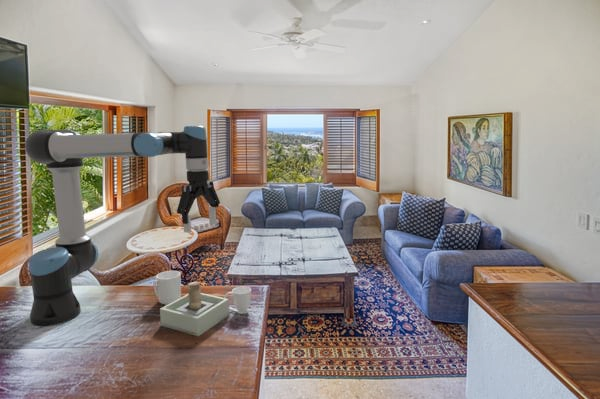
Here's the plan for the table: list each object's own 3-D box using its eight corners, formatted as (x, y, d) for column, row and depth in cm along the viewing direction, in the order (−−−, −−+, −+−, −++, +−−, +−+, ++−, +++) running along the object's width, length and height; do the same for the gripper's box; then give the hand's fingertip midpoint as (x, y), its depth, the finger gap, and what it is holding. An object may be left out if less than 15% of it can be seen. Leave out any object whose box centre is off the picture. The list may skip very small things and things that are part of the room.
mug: (172, 293, 157) (171, 269, 155) (187, 299, 152) (185, 273, 150) (148, 303, 148) (146, 277, 147) (162, 309, 143) (160, 282, 141)
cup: (250, 315, 138) (249, 294, 136) (222, 315, 139) (221, 293, 137) (254, 306, 145) (253, 286, 143) (227, 306, 145) (226, 285, 144)
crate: (161, 325, 132) (159, 308, 131) (194, 306, 146) (193, 291, 145) (198, 336, 125) (197, 318, 124) (229, 315, 139) (228, 298, 138)
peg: (187, 318, 134) (185, 285, 132) (195, 313, 138) (193, 281, 136) (196, 321, 132) (194, 287, 130) (204, 316, 136) (202, 283, 134)
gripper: (179, 174, 128) (184, 237, 132) (227, 167, 150) (230, 221, 153) (163, 173, 131) (167, 235, 135) (211, 166, 153) (214, 219, 157)
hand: (200, 228), depth 144 cm, fingers open, 13 cm apart
